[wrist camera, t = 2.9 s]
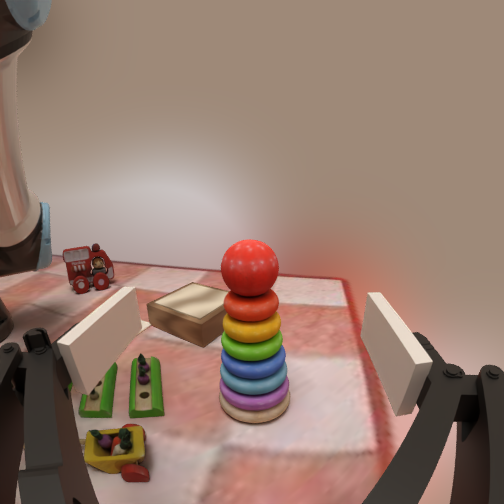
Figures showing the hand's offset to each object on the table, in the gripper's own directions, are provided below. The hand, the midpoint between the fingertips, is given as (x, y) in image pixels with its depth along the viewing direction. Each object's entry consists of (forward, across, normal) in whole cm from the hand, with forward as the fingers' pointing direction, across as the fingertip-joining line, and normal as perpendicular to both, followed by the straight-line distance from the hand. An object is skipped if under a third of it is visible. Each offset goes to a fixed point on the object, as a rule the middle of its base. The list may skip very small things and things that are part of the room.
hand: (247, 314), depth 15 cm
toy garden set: (+3, -21, -18) cm, 28 cm away
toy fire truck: (+40, -42, -17) cm, 60 cm away
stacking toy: (+10, 0, -17) cm, 20 cm away
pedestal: (+29, -12, -17) cm, 35 cm away
